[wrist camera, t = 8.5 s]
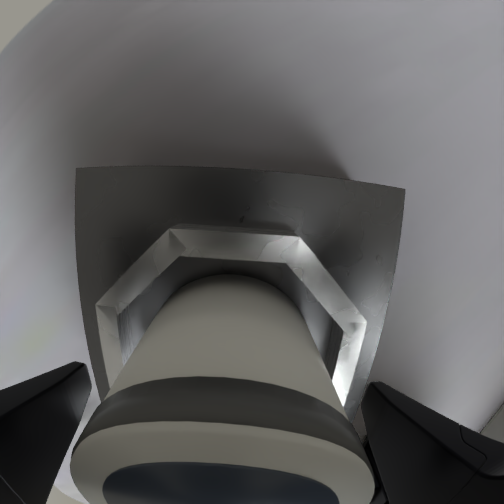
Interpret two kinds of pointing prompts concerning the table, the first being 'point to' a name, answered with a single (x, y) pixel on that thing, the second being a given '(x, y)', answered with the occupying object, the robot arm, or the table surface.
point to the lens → (223, 410)
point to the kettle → (495, 426)
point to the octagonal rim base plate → (236, 254)
